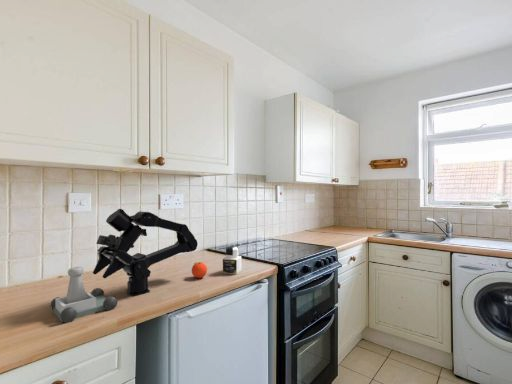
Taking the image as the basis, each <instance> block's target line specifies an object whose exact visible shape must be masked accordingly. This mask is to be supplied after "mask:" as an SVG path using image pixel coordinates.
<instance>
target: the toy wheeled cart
mask: <svg viewBox="0 0 512 384" xmlns="http://www.w3.org/2000/svg"><path fill="white" fill-rule="evenodd" d="M85 293H86V297H87V298H86V300H82V301H78V302H74V303H70V304H66V297H67V295H64V296H58V297H55V298H53V299H52V300H51V301H50V304H49V305H50V309H52V310H53V314H54V315H56V317H57V318H58V319H59V321H60V322H61V323H70V322H73V321H74V320H75V319H78V318H82V317H85V316H89V315H92V314H95V313H98V312H103V311H105V310H106V311H111V310H114V309H115V308H116V307H117V305H118V299H117V298H116V297H114V296H108V297H107V296H105V291H104V290H103V289H102V288H100V287H95V288H93V289H92V291H91V292H89V291H87V290H85Z"/></svg>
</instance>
